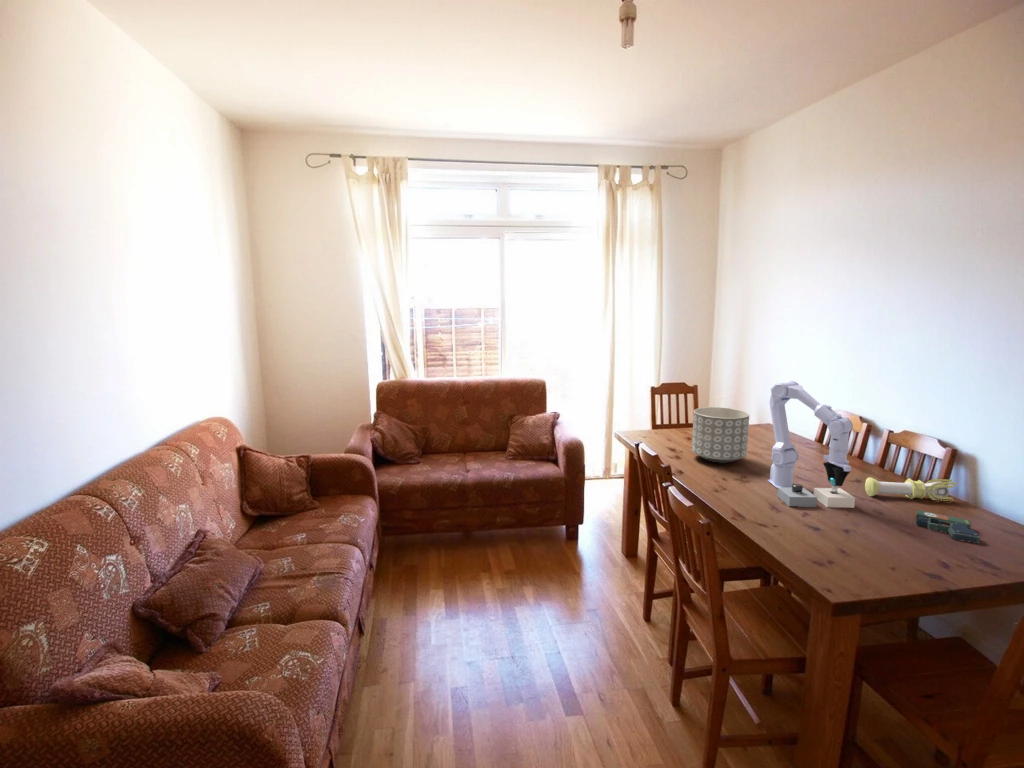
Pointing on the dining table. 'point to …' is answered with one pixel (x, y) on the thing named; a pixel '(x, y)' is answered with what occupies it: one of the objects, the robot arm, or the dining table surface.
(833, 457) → the robot arm
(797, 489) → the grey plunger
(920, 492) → the yellow toy scepter
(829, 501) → the cream block
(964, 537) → the gun
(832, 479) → the teal round knob
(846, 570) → the dining table surface
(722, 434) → the planter
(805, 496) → the grey block
